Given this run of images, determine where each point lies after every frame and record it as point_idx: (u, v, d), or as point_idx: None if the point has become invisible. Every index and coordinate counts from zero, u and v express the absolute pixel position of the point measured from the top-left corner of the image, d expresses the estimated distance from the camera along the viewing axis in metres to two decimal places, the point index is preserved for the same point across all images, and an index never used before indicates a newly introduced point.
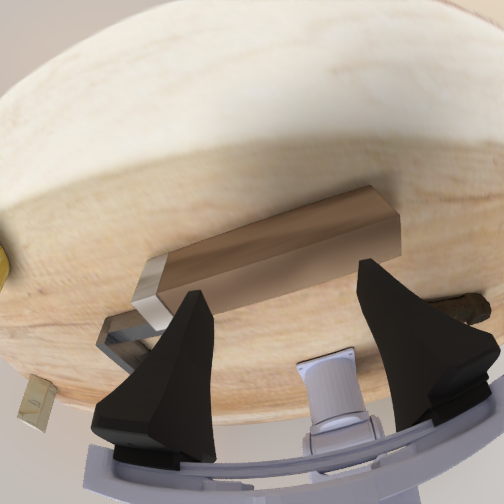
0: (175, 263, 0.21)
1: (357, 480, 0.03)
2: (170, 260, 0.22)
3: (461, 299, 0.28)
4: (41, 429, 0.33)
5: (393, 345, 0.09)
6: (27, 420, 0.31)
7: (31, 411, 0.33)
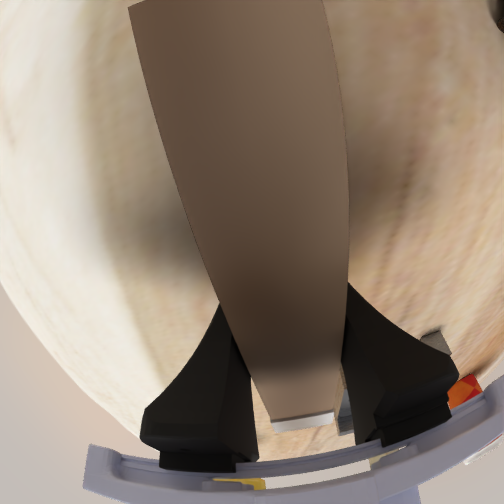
0: None
1: (357, 480, 0.03)
2: None
3: None
4: None
5: (348, 357, 0.09)
6: None
7: None
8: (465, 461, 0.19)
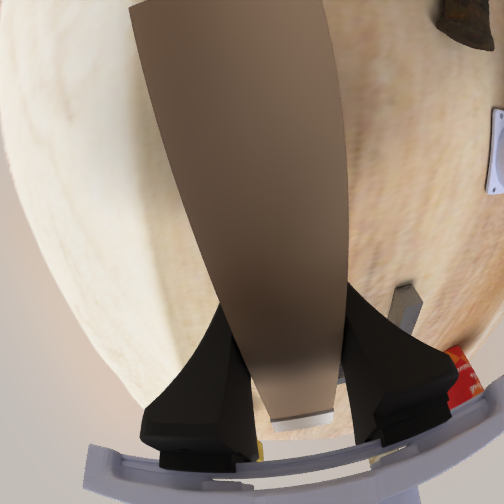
0: None
1: (357, 480, 0.03)
2: None
3: None
4: None
5: (348, 357, 0.09)
6: None
7: None
8: None
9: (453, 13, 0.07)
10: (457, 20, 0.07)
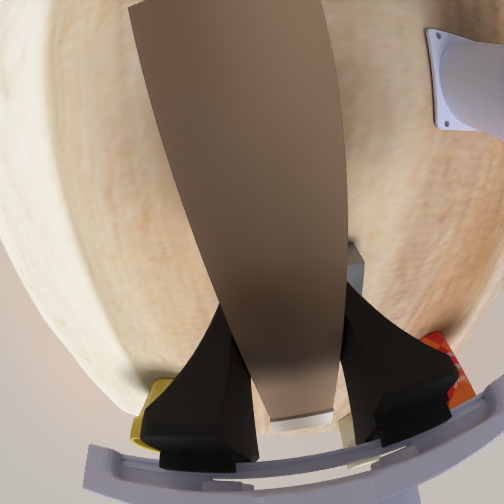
0: None
1: (357, 480, 0.03)
2: None
3: None
4: (373, 459, 0.36)
5: (348, 357, 0.09)
6: (355, 463, 0.37)
7: None
8: None
9: None
10: None
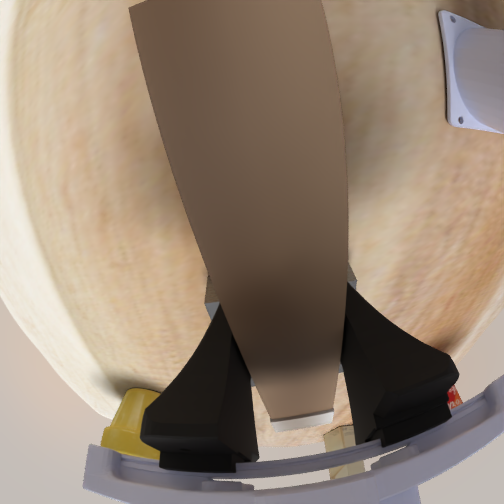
0: None
1: (357, 480, 0.03)
2: None
3: None
4: None
5: (348, 357, 0.09)
6: None
7: (339, 468, 0.36)
8: None
9: None
10: None
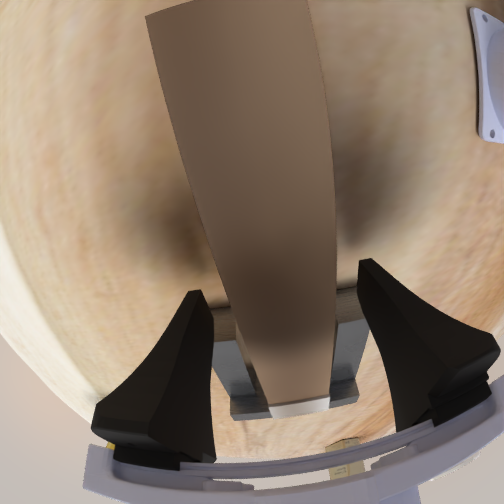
0: None
1: (357, 480, 0.03)
2: None
3: None
4: None
5: (393, 345, 0.09)
6: None
7: None
8: None
9: None
10: None
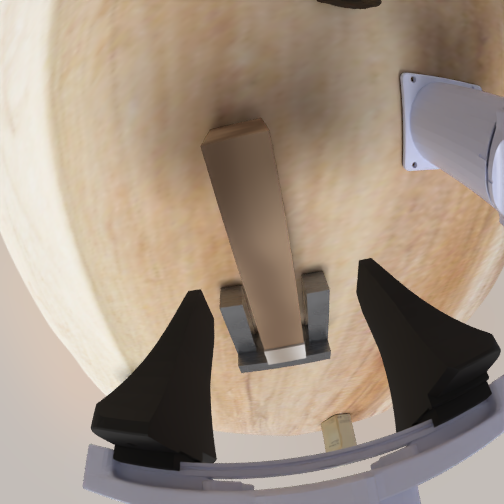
0: None
1: (357, 480, 0.03)
2: None
3: None
4: None
5: (393, 345, 0.09)
6: None
7: None
8: None
9: None
10: None
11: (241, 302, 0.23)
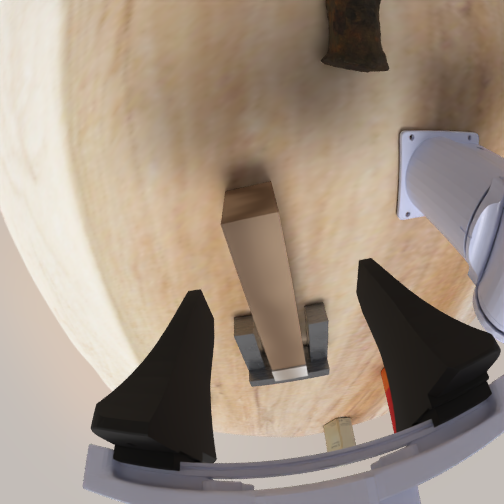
0: None
1: (357, 480, 0.03)
2: None
3: None
4: None
5: (393, 345, 0.09)
6: None
7: None
8: None
9: (332, 46, 0.12)
10: (333, 56, 0.12)
11: (252, 331, 0.27)
